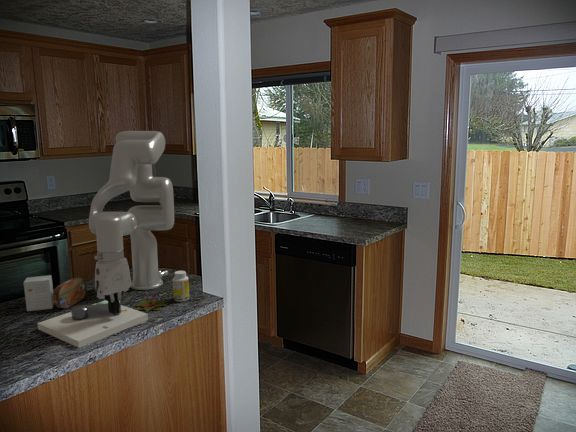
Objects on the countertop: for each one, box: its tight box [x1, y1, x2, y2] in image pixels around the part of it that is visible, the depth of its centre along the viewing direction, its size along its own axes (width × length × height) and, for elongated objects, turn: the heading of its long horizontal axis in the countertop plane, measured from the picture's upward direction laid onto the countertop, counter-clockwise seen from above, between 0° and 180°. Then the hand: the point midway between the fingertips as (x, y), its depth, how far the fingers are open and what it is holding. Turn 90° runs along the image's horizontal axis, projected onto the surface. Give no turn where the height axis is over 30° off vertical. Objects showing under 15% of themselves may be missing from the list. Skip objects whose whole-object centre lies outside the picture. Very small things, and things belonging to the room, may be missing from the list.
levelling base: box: [37, 299, 149, 349], centre depth 148 cm, size 24×22×4 cm
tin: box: [53, 277, 87, 309], centre depth 166 cm, size 15×3×8 cm, turn 168°
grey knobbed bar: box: [70, 299, 122, 320], centre depth 150 cm, size 15×5×4 cm, turn 106°
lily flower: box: [134, 293, 168, 313], centre depth 163 cm, size 12×12×5 cm
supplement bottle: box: [172, 270, 190, 302], centre depth 169 cm, size 6×6×10 cm
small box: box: [23, 274, 55, 312], centre depth 162 cm, size 8×6×10 cm
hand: (114, 312), depth 148 cm, fingers closed
